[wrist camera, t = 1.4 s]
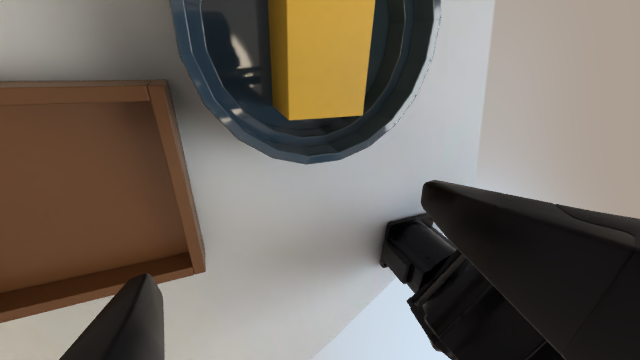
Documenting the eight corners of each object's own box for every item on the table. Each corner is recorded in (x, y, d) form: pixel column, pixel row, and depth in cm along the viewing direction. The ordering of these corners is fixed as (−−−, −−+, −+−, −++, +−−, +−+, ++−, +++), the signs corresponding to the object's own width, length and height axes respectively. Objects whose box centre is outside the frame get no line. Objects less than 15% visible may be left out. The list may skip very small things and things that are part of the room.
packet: (345, -46, 16) (383, -68, 13) (336, 103, 20) (363, 115, 17) (264, -61, 14) (284, -90, 11) (272, 106, 19) (288, 120, 15)
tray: (167, 79, 16) (163, 85, 14) (205, 252, 22) (205, 272, 20) (-200, 82, 11) (-283, 91, 9) (-19, 302, 17) (-46, 334, 15)
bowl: (418, -95, 17) (472, -127, 14) (383, 135, 24) (413, 150, 20) (142, -172, 11) (119, -258, 8) (201, 154, 18) (202, 178, 15)
